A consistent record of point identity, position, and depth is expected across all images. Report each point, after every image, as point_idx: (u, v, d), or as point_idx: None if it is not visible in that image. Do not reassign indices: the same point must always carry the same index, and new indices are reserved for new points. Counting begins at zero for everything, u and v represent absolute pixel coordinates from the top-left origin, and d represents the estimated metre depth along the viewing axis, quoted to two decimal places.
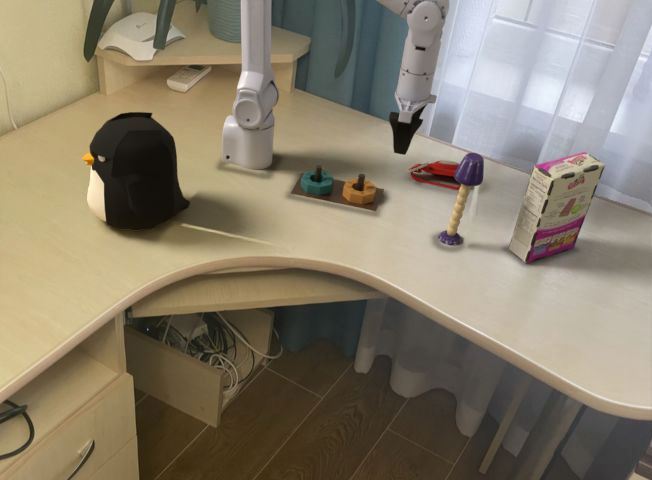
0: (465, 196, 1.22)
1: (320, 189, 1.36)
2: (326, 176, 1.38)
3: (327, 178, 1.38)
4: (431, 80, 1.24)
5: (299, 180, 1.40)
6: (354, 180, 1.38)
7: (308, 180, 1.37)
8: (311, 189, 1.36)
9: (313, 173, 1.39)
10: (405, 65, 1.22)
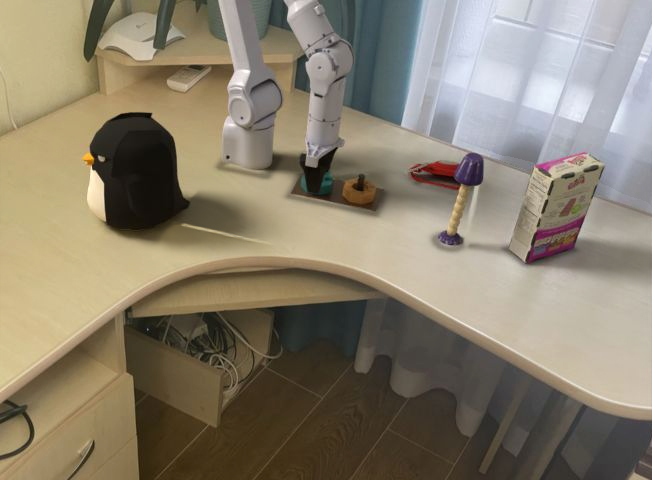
0: (465, 196, 1.22)
1: (320, 189, 1.36)
2: (326, 176, 1.38)
3: (327, 178, 1.38)
4: (337, 126, 1.29)
5: (299, 180, 1.40)
6: (354, 180, 1.38)
7: None
8: None
9: None
10: (309, 109, 1.28)
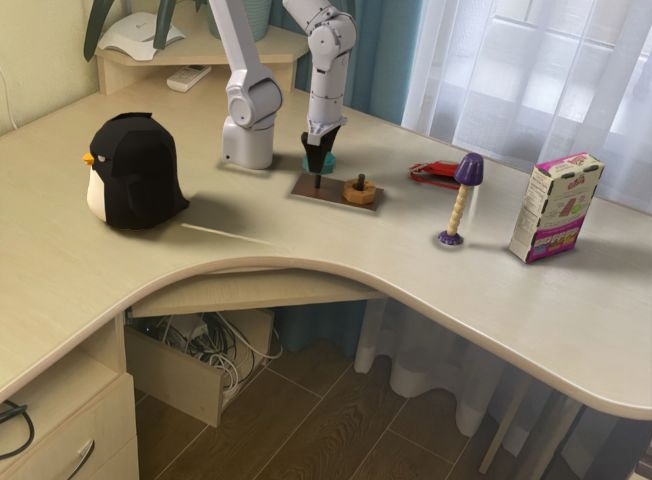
0: (465, 196, 1.22)
1: (322, 169, 1.33)
2: (328, 156, 1.35)
3: (329, 158, 1.35)
4: (340, 103, 1.26)
5: (299, 180, 1.40)
6: (354, 180, 1.38)
7: None
8: None
9: None
10: (311, 86, 1.25)
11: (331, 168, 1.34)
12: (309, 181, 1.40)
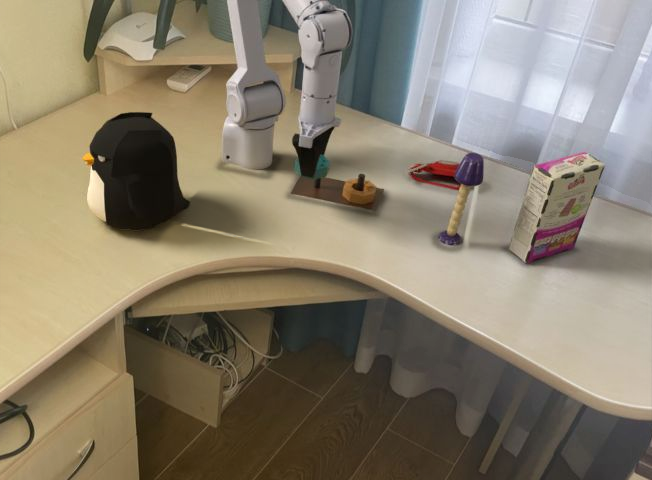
0: (465, 196, 1.22)
1: (315, 172, 1.27)
2: (322, 159, 1.29)
3: (323, 161, 1.28)
4: (333, 103, 1.19)
5: (299, 180, 1.40)
6: (354, 180, 1.38)
7: None
8: None
9: None
10: (302, 83, 1.19)
11: (324, 172, 1.27)
12: (309, 181, 1.40)
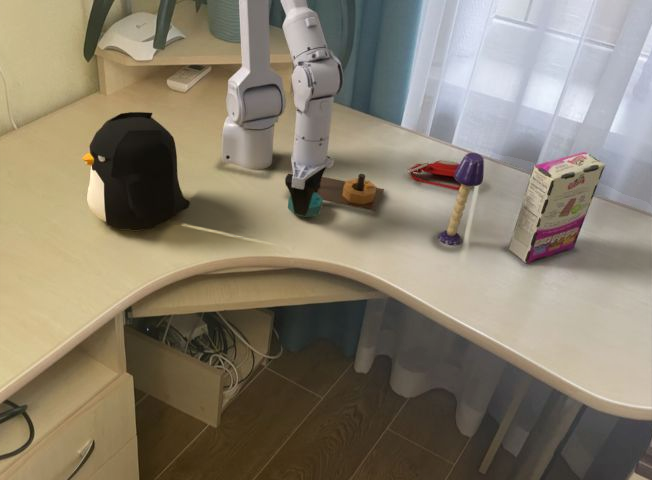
0: (465, 196, 1.22)
1: (308, 211, 1.29)
2: (315, 197, 1.31)
3: (316, 199, 1.31)
4: (325, 145, 1.22)
5: None
6: (354, 180, 1.38)
7: None
8: None
9: None
10: None
11: (317, 210, 1.30)
12: None
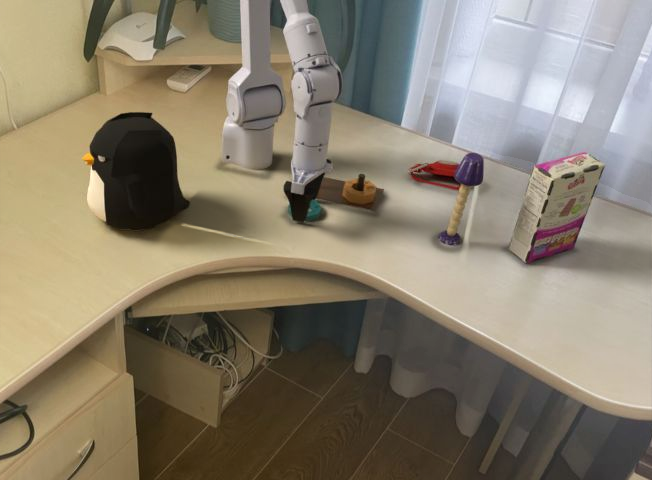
0: (465, 196, 1.22)
1: (307, 219, 1.30)
2: (314, 204, 1.32)
3: (315, 207, 1.32)
4: (324, 151, 1.23)
5: None
6: (354, 180, 1.38)
7: None
8: None
9: None
10: None
11: (316, 217, 1.31)
12: None
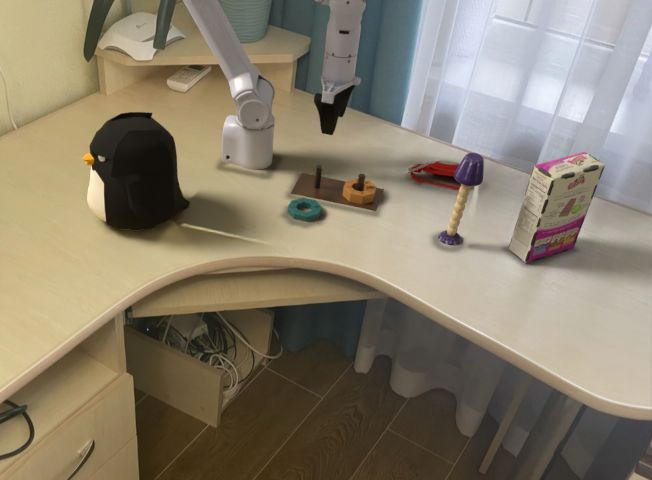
0: (465, 196, 1.22)
1: (307, 219, 1.30)
2: (314, 204, 1.32)
3: (315, 207, 1.32)
4: (353, 63, 1.29)
5: (299, 180, 1.40)
6: (354, 180, 1.38)
7: (294, 208, 1.31)
8: (298, 218, 1.30)
9: (300, 201, 1.33)
10: (330, 49, 1.27)
11: (316, 217, 1.31)
12: (309, 181, 1.40)
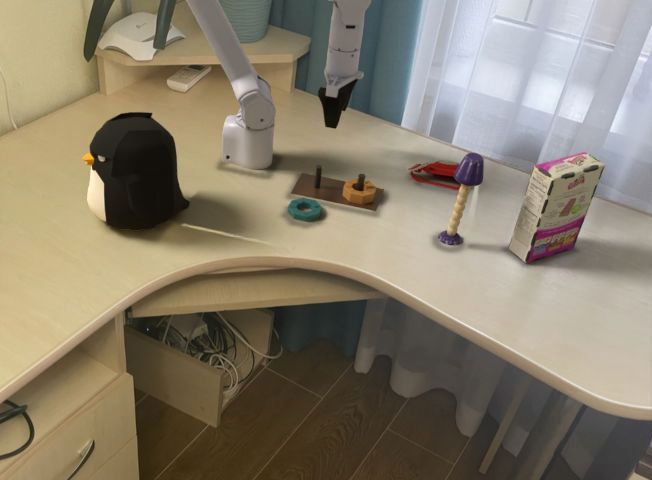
0: (465, 196, 1.22)
1: (307, 219, 1.30)
2: (314, 204, 1.32)
3: (315, 207, 1.32)
4: (357, 57, 1.31)
5: (299, 180, 1.40)
6: (354, 180, 1.38)
7: (294, 208, 1.31)
8: (298, 218, 1.30)
9: (300, 201, 1.33)
10: (336, 44, 1.29)
11: (316, 217, 1.31)
12: (309, 181, 1.40)
